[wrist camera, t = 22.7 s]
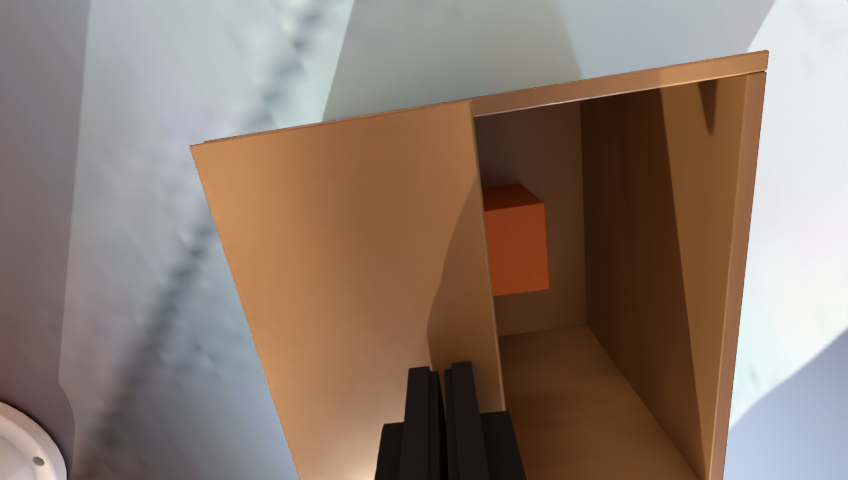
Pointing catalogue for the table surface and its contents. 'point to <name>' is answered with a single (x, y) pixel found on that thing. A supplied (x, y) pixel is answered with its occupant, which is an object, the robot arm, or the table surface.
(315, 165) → the flap
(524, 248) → the block
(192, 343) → the table surface
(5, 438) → the robot arm
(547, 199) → the carton
